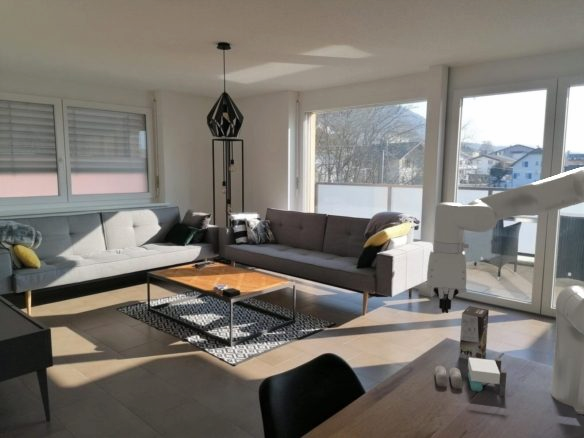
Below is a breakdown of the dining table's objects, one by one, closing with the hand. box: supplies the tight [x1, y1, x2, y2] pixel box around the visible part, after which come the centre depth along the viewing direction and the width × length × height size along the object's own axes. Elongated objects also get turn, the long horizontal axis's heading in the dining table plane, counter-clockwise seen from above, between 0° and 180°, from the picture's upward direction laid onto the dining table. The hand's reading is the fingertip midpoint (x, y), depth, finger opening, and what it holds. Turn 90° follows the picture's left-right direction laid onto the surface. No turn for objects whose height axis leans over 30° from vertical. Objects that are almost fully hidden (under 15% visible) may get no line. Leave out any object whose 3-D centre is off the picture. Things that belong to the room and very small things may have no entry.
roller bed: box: [434, 357, 507, 397], centre depth 122 cm, size 18×9×8 cm, turn 74°
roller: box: [467, 371, 484, 393], centre depth 122 cm, size 7×3×3 cm
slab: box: [467, 357, 500, 385], centre depth 120 cm, size 7×8×3 cm
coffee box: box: [458, 305, 490, 360], centre depth 139 cm, size 9×6×16 cm
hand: (444, 311), depth 121 cm, fingers closed
